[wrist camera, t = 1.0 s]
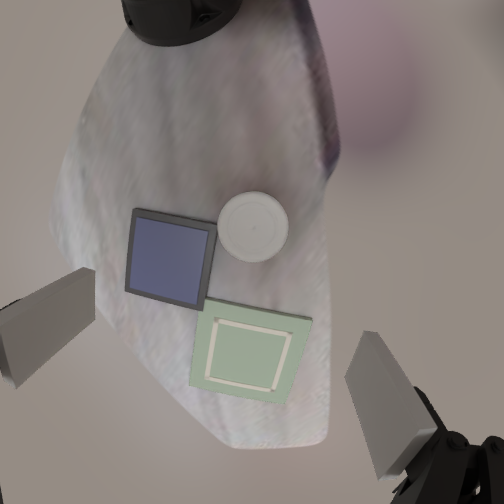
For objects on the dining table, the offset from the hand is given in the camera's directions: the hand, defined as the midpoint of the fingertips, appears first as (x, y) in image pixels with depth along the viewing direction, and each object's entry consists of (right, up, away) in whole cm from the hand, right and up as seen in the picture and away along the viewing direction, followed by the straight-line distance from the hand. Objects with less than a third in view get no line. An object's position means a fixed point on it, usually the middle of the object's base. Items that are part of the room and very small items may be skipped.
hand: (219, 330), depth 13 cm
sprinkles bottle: (+2, +8, +19) cm, 20 cm away
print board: (+1, -9, +22) cm, 24 cm away
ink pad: (-8, +3, +20) cm, 22 cm away
